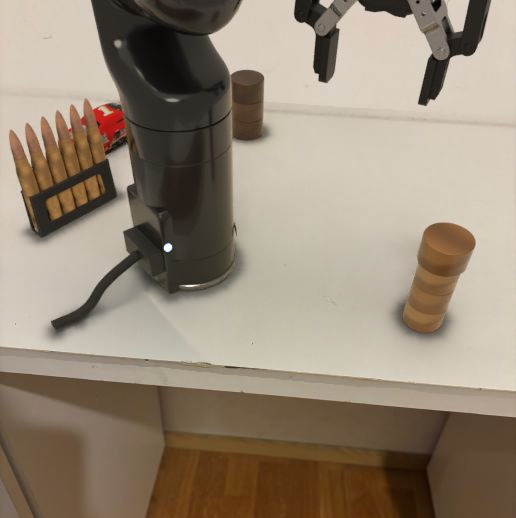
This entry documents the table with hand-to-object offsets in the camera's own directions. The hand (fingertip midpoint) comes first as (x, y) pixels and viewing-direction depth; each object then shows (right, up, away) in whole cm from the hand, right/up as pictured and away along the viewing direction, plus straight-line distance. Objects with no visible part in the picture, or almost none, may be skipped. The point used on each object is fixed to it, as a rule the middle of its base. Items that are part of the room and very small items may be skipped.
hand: (374, 90), depth 48 cm
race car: (-30, +6, +29) cm, 42 cm away
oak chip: (+7, -14, +3) cm, 16 cm away
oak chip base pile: (+6, -19, +9) cm, 22 cm away
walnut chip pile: (-11, +8, +31) cm, 34 cm away
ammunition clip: (-31, -6, +19) cm, 37 cm away
